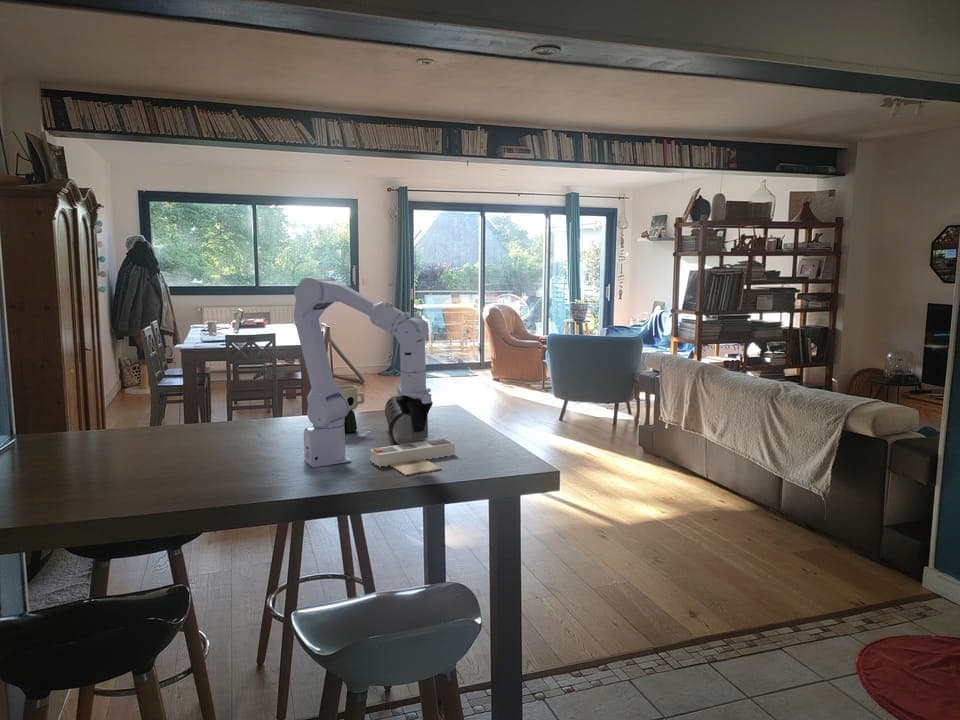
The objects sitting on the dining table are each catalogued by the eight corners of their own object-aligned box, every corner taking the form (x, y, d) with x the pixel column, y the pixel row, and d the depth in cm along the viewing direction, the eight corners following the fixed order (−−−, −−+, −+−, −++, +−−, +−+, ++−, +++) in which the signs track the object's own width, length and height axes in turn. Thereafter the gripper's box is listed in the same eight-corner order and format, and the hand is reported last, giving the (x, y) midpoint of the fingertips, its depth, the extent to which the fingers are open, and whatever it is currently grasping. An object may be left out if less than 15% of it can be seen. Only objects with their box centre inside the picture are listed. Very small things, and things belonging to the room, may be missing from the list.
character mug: (326, 435, 190) (324, 390, 189) (326, 430, 197) (324, 385, 196) (365, 433, 192) (364, 388, 191) (365, 428, 199) (363, 384, 198)
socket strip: (379, 467, 159) (378, 452, 159) (370, 461, 164) (369, 446, 164) (455, 455, 169) (455, 440, 168) (444, 449, 174) (444, 435, 174)
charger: (411, 440, 155) (410, 416, 154) (403, 436, 158) (403, 413, 157) (427, 438, 157) (427, 414, 156) (420, 434, 160) (419, 410, 160)
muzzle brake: (417, 427, 200) (416, 392, 199) (428, 451, 173) (427, 411, 172) (384, 429, 198) (383, 394, 197) (390, 454, 171) (389, 413, 170)
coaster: (405, 476, 152) (405, 474, 152) (390, 466, 160) (390, 464, 160) (441, 469, 157) (441, 468, 157) (424, 460, 164) (424, 459, 164)
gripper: (443, 373, 151) (444, 433, 153) (416, 365, 163) (417, 421, 165) (414, 376, 148) (415, 437, 149) (388, 368, 160) (390, 425, 162)
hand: (414, 429), depth 157 cm, fingers closed on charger, 4 cm apart
